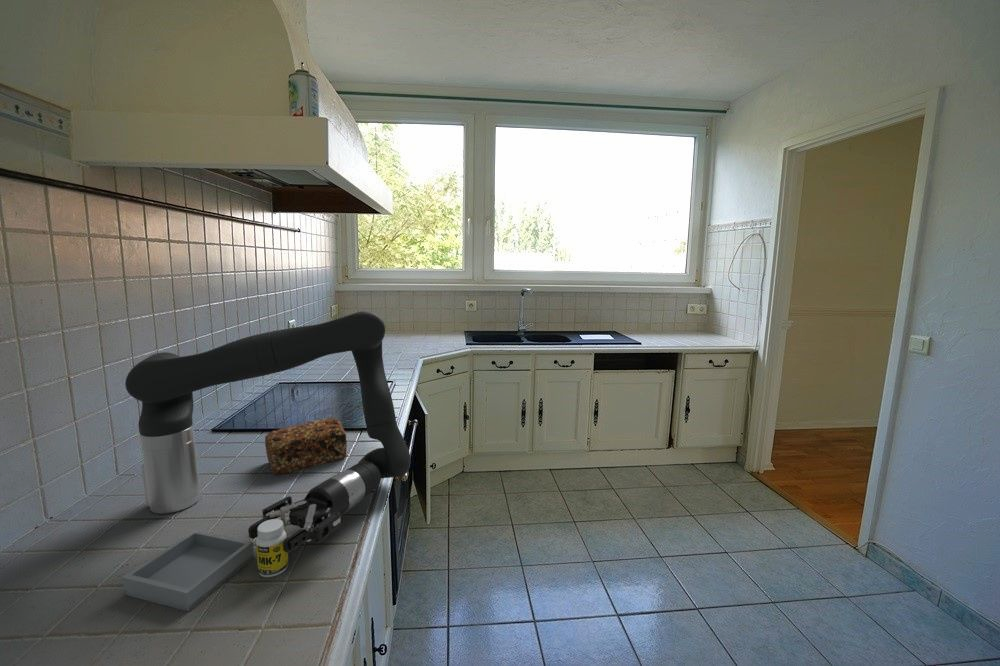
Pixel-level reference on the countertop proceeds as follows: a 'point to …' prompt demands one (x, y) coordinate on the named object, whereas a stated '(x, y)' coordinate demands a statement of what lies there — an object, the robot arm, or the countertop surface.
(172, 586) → the bin
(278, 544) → the supplement bottle
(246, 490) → the countertop surface
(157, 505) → the robot arm
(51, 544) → the countertop surface
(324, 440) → the bread
